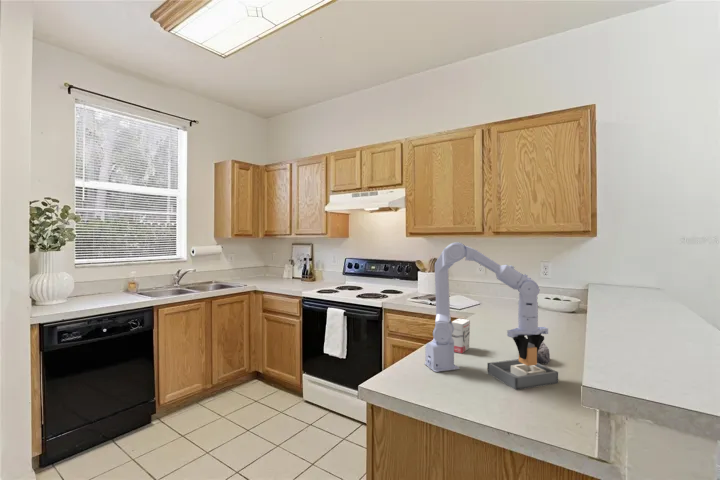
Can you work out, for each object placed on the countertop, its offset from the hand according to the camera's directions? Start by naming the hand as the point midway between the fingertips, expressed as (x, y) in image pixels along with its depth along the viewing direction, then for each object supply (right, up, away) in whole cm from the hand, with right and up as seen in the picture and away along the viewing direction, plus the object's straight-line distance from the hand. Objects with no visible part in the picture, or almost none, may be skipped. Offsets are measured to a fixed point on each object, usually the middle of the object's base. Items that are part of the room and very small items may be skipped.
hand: (528, 357), depth 110 cm
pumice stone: (+9, -7, +15) cm, 19 cm away
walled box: (-2, -6, -1) cm, 7 cm away
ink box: (-14, -7, +27) cm, 31 cm away
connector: (0, -2, 0) cm, 2 cm away
